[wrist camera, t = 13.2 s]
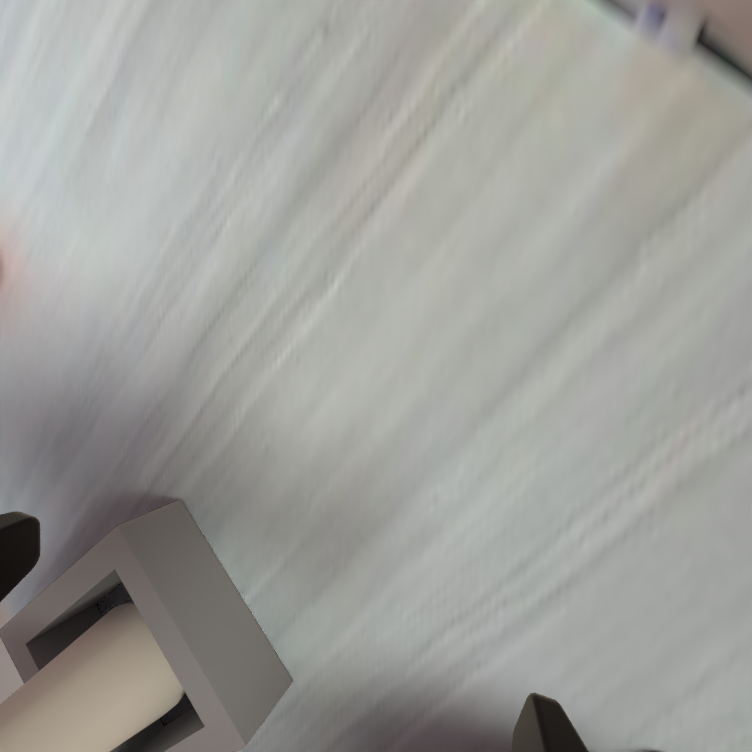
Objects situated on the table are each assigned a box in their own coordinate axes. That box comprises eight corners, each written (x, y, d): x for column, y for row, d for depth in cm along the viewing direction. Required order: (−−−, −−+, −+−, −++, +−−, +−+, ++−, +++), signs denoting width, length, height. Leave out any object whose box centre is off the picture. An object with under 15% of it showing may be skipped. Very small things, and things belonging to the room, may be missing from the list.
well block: (293, 681, 23) (246, 745, 19) (161, 760, 26) (98, 829, 22) (180, 498, 25) (117, 525, 21) (69, 593, 28) (-3, 631, 24)
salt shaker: (221, 599, 24) (-99, 854, 12) (212, 699, 25) (-103, 1042, 12) (136, 570, 26) (-217, 764, 14) (129, 663, 27) (-217, 930, 14)
